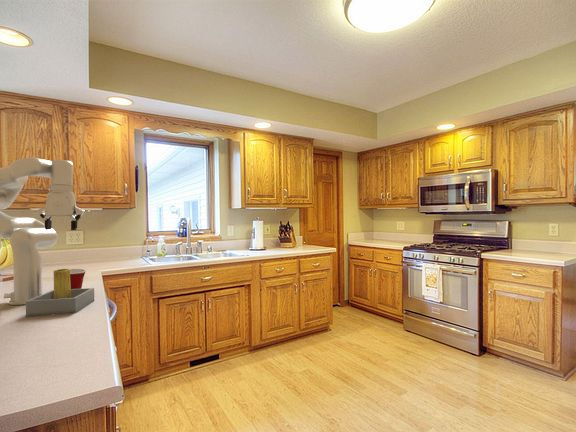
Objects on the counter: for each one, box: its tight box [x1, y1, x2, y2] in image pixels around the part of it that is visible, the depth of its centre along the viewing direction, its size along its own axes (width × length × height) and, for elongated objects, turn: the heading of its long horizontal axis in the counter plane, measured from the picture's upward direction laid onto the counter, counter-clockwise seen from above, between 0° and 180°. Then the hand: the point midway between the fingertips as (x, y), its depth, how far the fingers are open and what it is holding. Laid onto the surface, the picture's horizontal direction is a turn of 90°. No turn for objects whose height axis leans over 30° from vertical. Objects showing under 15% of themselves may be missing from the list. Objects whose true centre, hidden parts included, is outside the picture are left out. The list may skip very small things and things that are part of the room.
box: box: [25, 287, 95, 317], centre depth 124 cm, size 16×18×6 cm
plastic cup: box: [69, 268, 87, 289], centre depth 143 cm, size 11×11×12 cm
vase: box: [53, 268, 71, 299], centre depth 124 cm, size 6×6×14 cm
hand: (61, 230), depth 133 cm, fingers open, 9 cm apart
